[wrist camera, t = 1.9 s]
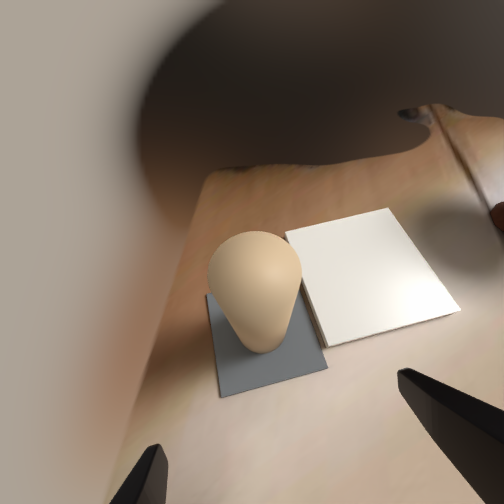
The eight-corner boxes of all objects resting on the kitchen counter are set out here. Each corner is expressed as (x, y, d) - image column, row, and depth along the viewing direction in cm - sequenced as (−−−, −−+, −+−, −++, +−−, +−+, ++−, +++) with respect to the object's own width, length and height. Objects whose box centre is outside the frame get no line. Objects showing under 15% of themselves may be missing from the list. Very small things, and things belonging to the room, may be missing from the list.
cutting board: (453, 313, 21) (461, 310, 20) (326, 347, 20) (328, 346, 19) (384, 213, 27) (388, 207, 26) (284, 237, 26) (285, 231, 25)
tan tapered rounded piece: (292, 346, 20) (316, 302, 10) (243, 359, 20) (215, 328, 10) (278, 299, 22) (285, 222, 12) (233, 310, 22) (202, 242, 12)
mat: (327, 368, 19) (328, 368, 19) (221, 397, 19) (221, 397, 19) (293, 273, 24) (293, 272, 24) (206, 294, 23) (206, 293, 23)
